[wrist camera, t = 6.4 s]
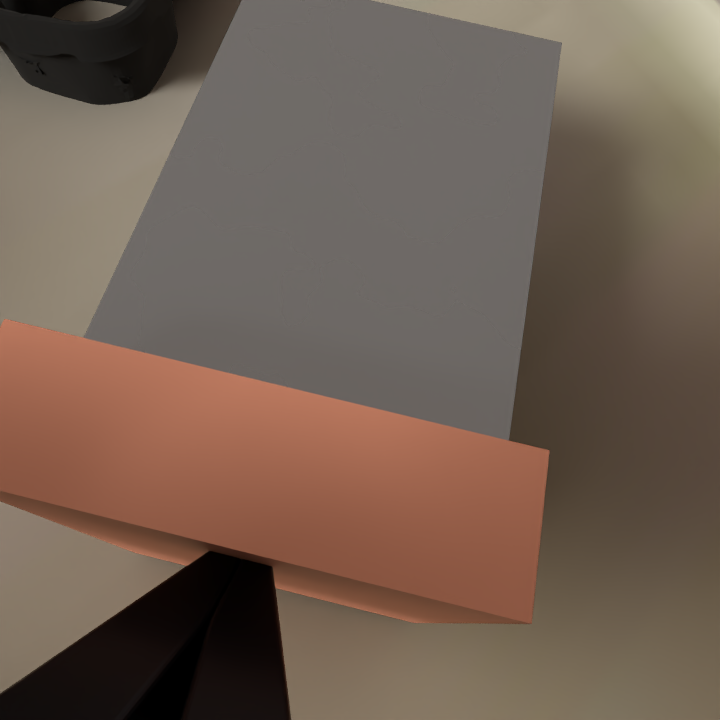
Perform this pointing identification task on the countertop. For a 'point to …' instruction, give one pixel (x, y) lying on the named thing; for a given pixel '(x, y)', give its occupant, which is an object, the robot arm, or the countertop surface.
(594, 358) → the countertop surface
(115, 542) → the pink block
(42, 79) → the egg carton
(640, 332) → the countertop surface
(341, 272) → the housing
